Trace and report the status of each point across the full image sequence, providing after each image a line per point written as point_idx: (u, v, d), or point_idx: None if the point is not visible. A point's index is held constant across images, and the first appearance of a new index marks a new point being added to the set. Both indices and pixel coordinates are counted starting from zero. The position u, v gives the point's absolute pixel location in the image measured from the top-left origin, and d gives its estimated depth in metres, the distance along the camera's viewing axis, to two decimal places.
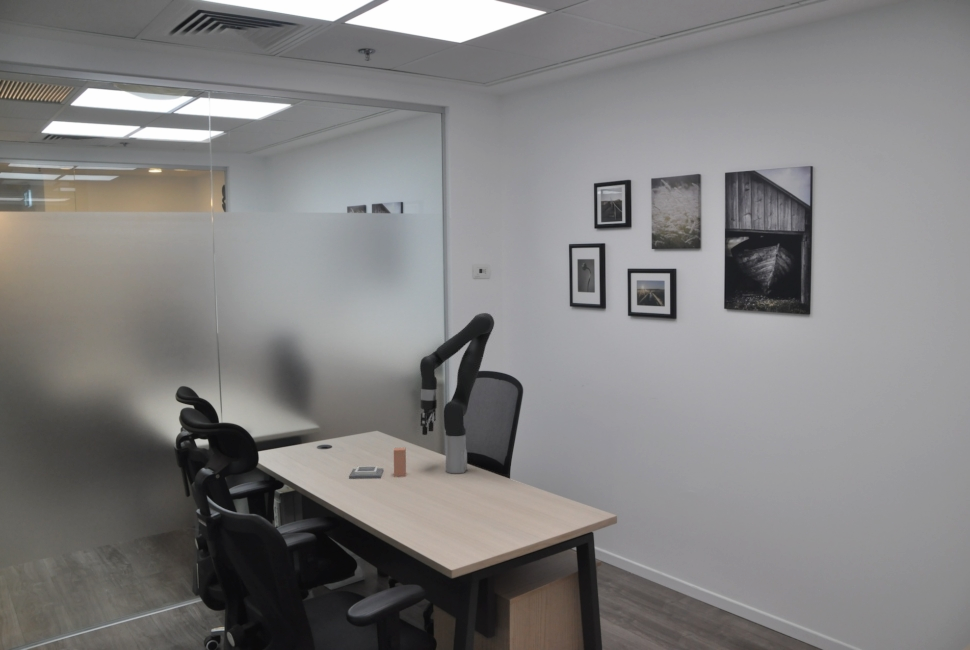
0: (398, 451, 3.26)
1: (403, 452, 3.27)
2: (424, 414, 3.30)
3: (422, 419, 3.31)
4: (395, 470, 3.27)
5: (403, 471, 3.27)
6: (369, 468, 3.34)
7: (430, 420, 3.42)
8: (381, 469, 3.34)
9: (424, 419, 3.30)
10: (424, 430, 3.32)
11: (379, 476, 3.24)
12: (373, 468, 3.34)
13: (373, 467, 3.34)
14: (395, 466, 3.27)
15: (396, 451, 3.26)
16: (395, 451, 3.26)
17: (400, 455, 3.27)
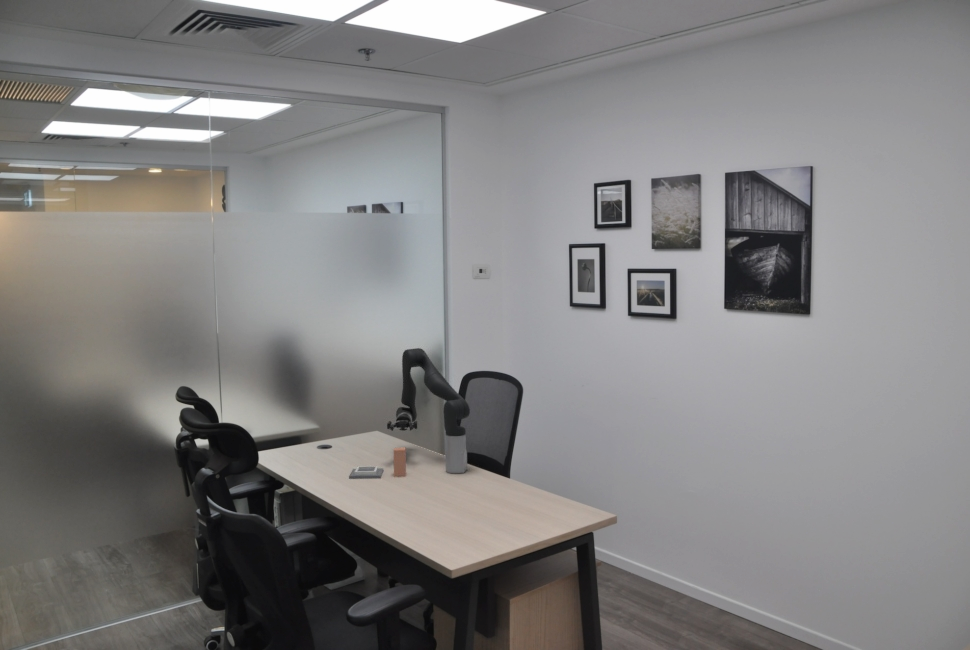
0: (398, 451, 3.26)
1: (403, 452, 3.27)
2: None
3: None
4: (395, 470, 3.27)
5: (403, 471, 3.27)
6: (369, 468, 3.34)
7: None
8: (381, 469, 3.34)
9: None
10: (390, 427, 3.42)
11: (379, 476, 3.24)
12: (373, 468, 3.34)
13: (373, 467, 3.34)
14: (395, 466, 3.27)
15: (396, 451, 3.26)
16: (395, 451, 3.26)
17: (400, 455, 3.27)
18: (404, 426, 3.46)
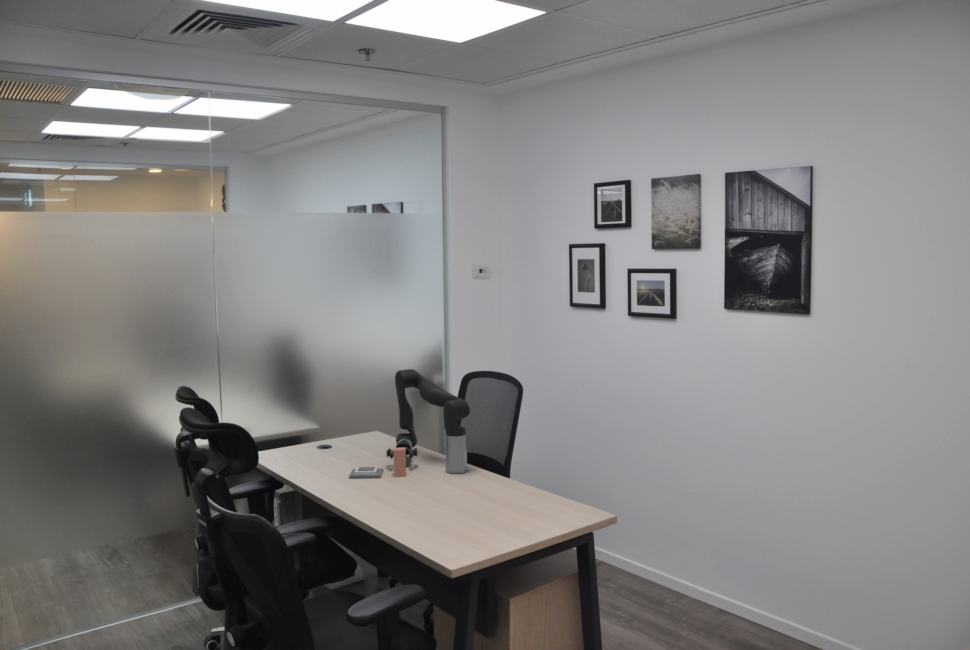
0: (398, 451, 3.26)
1: (403, 452, 3.27)
2: None
3: None
4: (395, 470, 3.27)
5: (403, 471, 3.27)
6: (369, 468, 3.34)
7: None
8: (381, 469, 3.34)
9: None
10: (389, 454, 3.37)
11: (379, 476, 3.24)
12: (373, 468, 3.34)
13: (373, 467, 3.34)
14: (395, 466, 3.27)
15: (396, 451, 3.26)
16: (395, 451, 3.26)
17: (400, 455, 3.27)
18: None
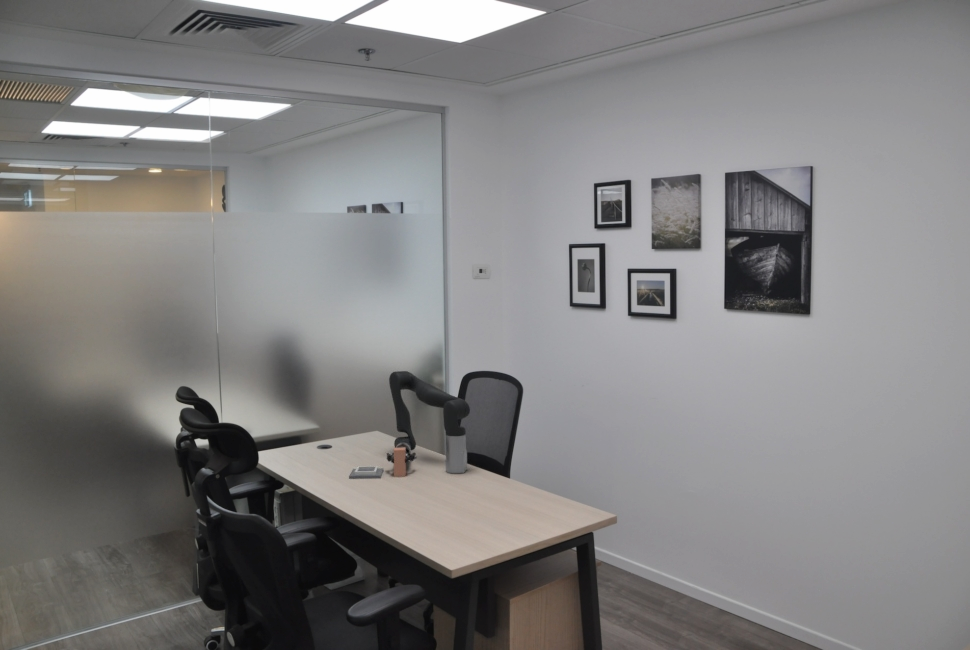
0: (398, 451, 3.26)
1: (403, 452, 3.27)
2: None
3: (387, 458, 3.34)
4: (395, 470, 3.27)
5: (403, 471, 3.27)
6: (369, 468, 3.34)
7: (407, 459, 3.32)
8: (381, 469, 3.34)
9: (387, 455, 3.34)
10: (391, 459, 3.29)
11: (379, 476, 3.24)
12: (373, 468, 3.34)
13: (373, 467, 3.34)
14: (395, 466, 3.27)
15: (396, 451, 3.26)
16: (395, 451, 3.26)
17: (400, 455, 3.27)
18: None
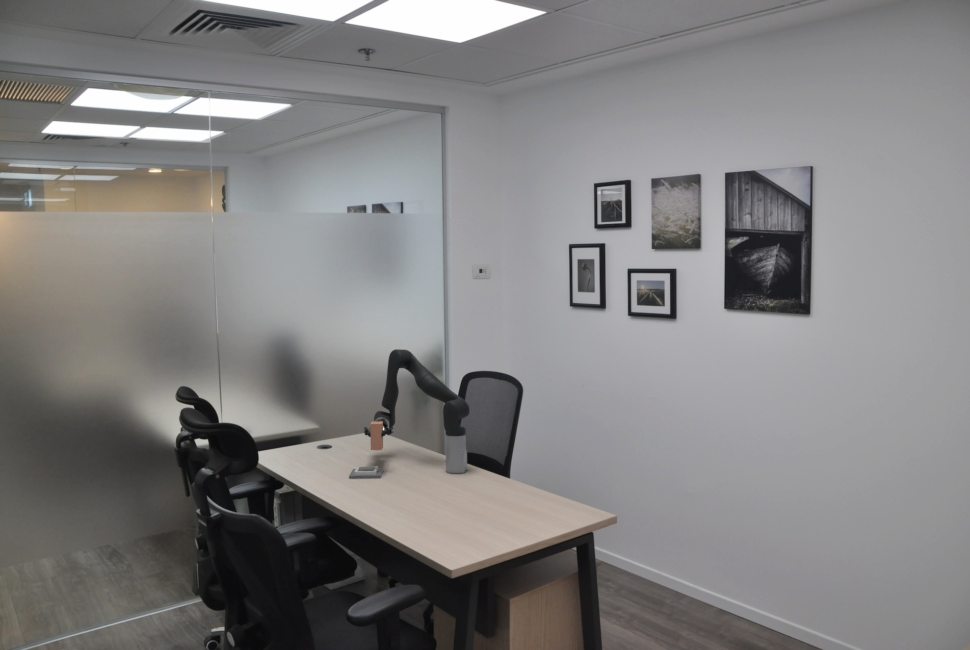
0: (375, 425, 3.26)
1: (380, 426, 3.27)
2: None
3: (364, 432, 3.34)
4: (372, 444, 3.27)
5: (380, 445, 3.27)
6: (369, 468, 3.34)
7: (384, 433, 3.32)
8: (381, 469, 3.34)
9: (364, 429, 3.34)
10: (368, 433, 3.29)
11: (379, 476, 3.24)
12: (373, 468, 3.34)
13: (373, 467, 3.34)
14: (372, 440, 3.27)
15: (373, 425, 3.26)
16: (372, 425, 3.26)
17: (377, 429, 3.27)
18: None
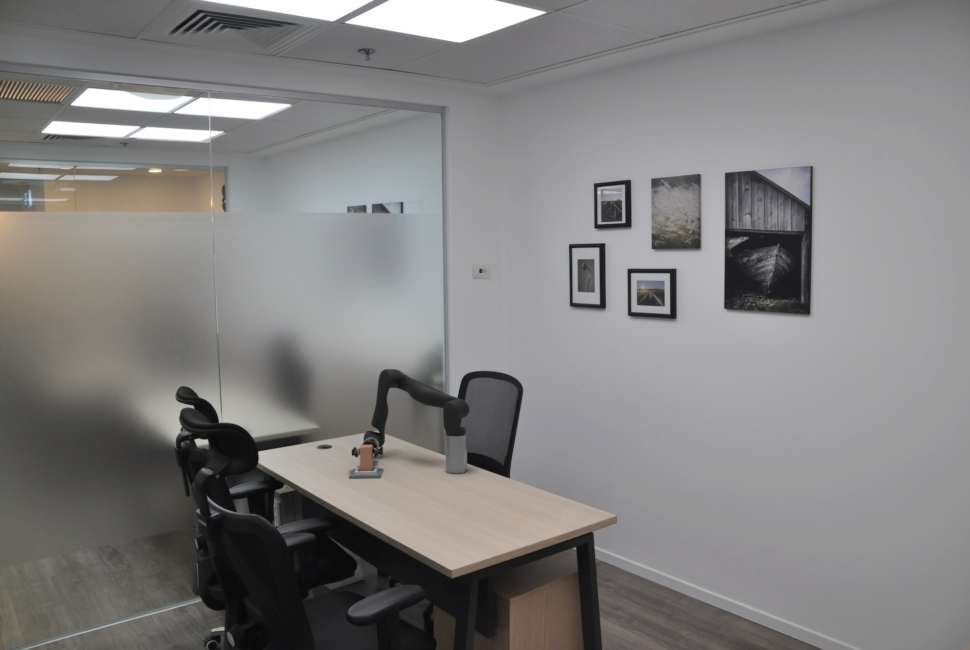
0: (364, 448, 3.27)
1: (369, 449, 3.27)
2: None
3: None
4: (361, 467, 3.27)
5: (369, 468, 3.28)
6: None
7: None
8: (381, 469, 3.34)
9: None
10: None
11: (379, 476, 3.24)
12: (373, 468, 3.34)
13: (373, 467, 3.34)
14: (361, 463, 3.27)
15: (362, 448, 3.27)
16: (361, 448, 3.27)
17: (366, 452, 3.27)
18: None
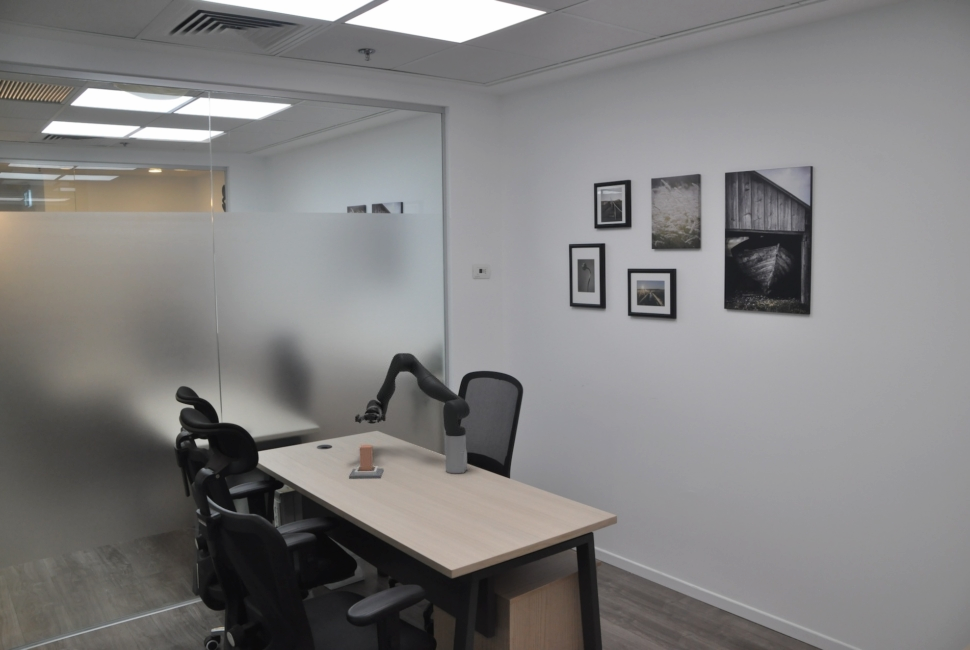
0: (364, 448, 3.27)
1: (369, 449, 3.27)
2: None
3: None
4: (361, 467, 3.27)
5: (369, 468, 3.28)
6: None
7: None
8: (381, 469, 3.34)
9: None
10: (358, 419, 3.42)
11: (379, 476, 3.24)
12: (373, 468, 3.34)
13: (373, 467, 3.34)
14: (361, 463, 3.27)
15: (362, 448, 3.27)
16: (361, 448, 3.27)
17: (366, 452, 3.27)
18: (372, 419, 3.46)
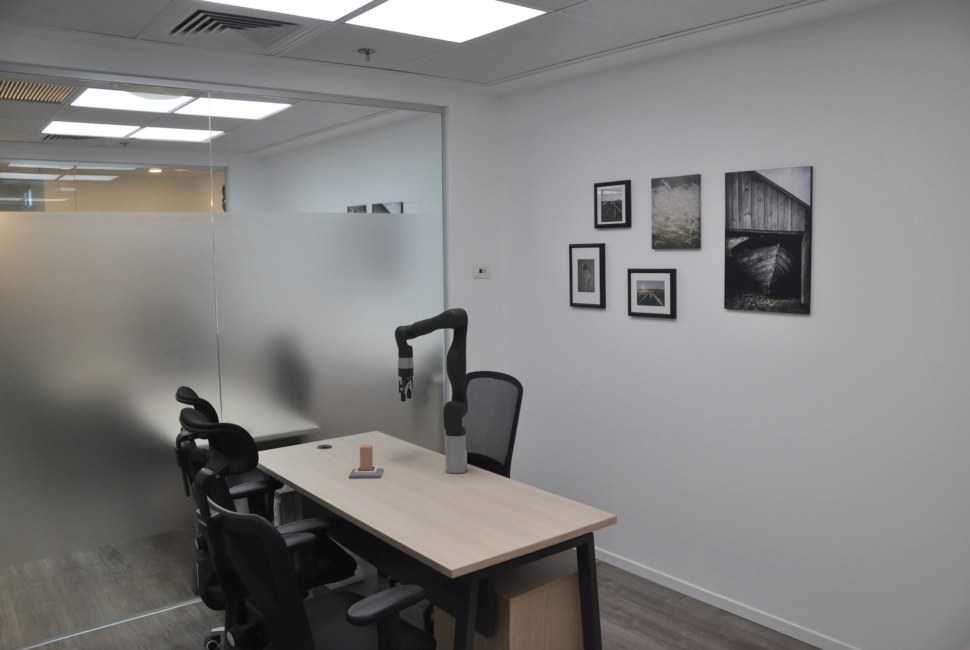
0: (364, 448, 3.27)
1: (369, 449, 3.27)
2: (402, 381, 3.45)
3: (400, 386, 3.45)
4: (361, 467, 3.27)
5: (369, 468, 3.28)
6: None
7: (408, 388, 3.56)
8: (381, 469, 3.34)
9: (402, 386, 3.45)
10: (402, 397, 3.47)
11: (379, 476, 3.24)
12: (373, 468, 3.34)
13: (373, 467, 3.34)
14: (361, 463, 3.27)
15: (362, 448, 3.27)
16: (361, 448, 3.27)
17: (366, 452, 3.27)
18: None
